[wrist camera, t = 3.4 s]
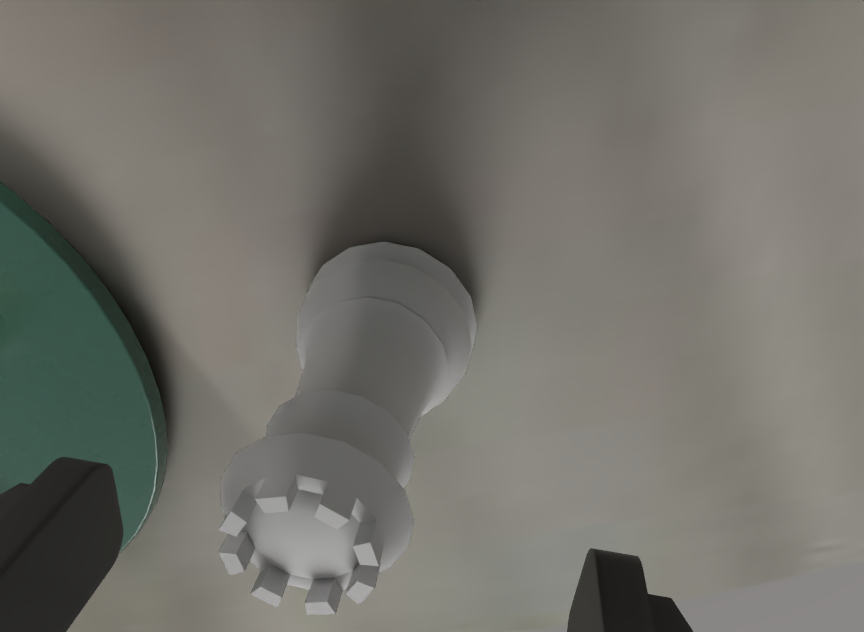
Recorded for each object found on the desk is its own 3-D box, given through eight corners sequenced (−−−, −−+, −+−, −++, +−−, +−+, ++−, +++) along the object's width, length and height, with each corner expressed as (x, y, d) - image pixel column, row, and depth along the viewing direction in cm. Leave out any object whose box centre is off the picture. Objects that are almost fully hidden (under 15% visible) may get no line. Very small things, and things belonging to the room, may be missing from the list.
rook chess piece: (319, 382, 18) (188, 640, 11) (299, 232, 16) (123, 432, 9) (478, 390, 18) (446, 668, 10) (479, 236, 15) (439, 451, 8)
